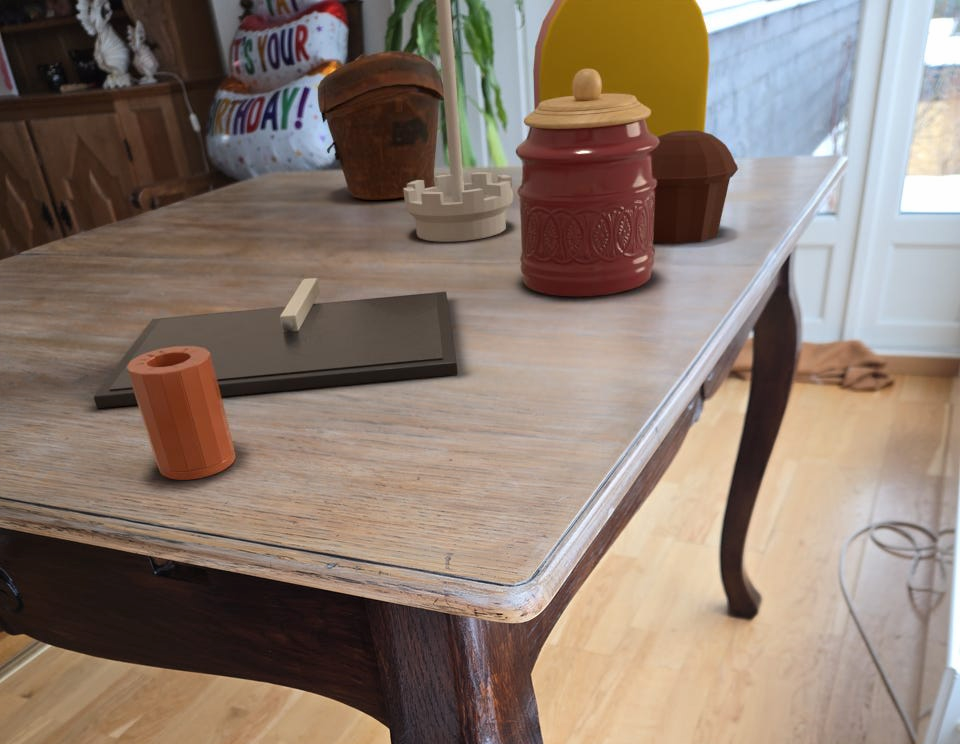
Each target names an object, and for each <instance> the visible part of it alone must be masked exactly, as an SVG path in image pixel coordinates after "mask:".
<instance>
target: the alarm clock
mask: <svg viewBox="0 0 960 744" xmlns="http://www.w3.org/2000/svg"><path fill="white" fill-rule="evenodd" d="M709 42H710V39H709V32H708V29H707V26H706V22H705V18H704V15H703V12H702V9H701V7H700V5H699V4H698V2H697V0H554V1H553V3H552V4H551V6H550V8H549V10H548V12H547V14H546V15H545V17H544V19H543V20H542V23H541V27H540V30H539V33H538V36H537V39H536V43H535V46H534V59H533V69H532V74H533V104H534V105H533V106H534V107H533V109H534V110H535V109H536V108H537V107H538V105H539V103H540V102H543V101H546V100H549V99H554V98H560V97H567V96H573V92H572V83H573V79H574V77H575V75H576V74H577V73H578V72H579V71H580V70H583V69H594V70H596V71H597V72H598V74H599V75H600V78H601V82H602V90H601V93H600V94H629V95H633V96H635V97H636V99H637V101H639V102H640V103H641V104H643V105H644V106H646V107H648V108H649V109H650V110H651V115H650V116H649V117H648V118H645V122H646V125H647V128H648V130H649V131H650V132H651V133H653V134H654V135H655V136H656V137H659V136H661V135H664V134H667V133H670V132H675V131H688V130H693V131H702V132H705V131H706V117H707V102H708V87H709V73H710V71H709V70H710V44H709ZM534 110H533V111H534ZM705 133H706V132H705Z"/></svg>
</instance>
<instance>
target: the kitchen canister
mask: <svg viewBox="0 0 960 744" xmlns="http://www.w3.org/2000/svg"><path fill="white" fill-rule="evenodd" d="M601 90H602V82H601V78H600V75H599V74H598V72H597V71H596V70H594V69H583V70H580V71H579V72H578V73H577V74H576V75H575V77H574V79H573V83H572V92H573V96H567V97H560V98H554V99H549V100H546V101H543V102H540V103H539V105H538V107H537V108H536V109H535V110H533V111H532V112H530V113H529V114H528V115H526V117H524V119H523V124H524V125H525V126H527V127H529V129H528V131H527V132H528V133H527V136H526V138H525V139H524V140H523V141H522V142H521V143H519V145H517V147H516V148H515V154H516V156H517V157H518V158H519V160H520V161H521V165H522V166H521V167H522V169H521V170H522V171H521V172H522V173H521V184H520V185H519V186H518V188H517V195H518V197H519V216H520V240H521V254H520V257H519V261H520V271H521V274H522V277H523V283H524V285H525V286H526V287H527V288H528V289H530V290H532V291H534V292H537V293H540V294H545V295H551V296H559V297H594V296H603V295H612V294H616V293H622V292H625V291H630V290H632V289H635V288H638V287H640V286H642V285H644V284H646V283H647V282H648V281H649V280H650V279H651V277H652V272H653V271H652V270H653V267H654V264H655V254H656V250H655V247H654V242H653V236H654V212H655V190H656V186H657V183H658V182H657V179H656V178H655V177H654V176H653V152H654V151H655V149H656V148H657V147H658V145H659V139H658V137H656V136H655V135H654V134H653V133H651V132H650V131H649V130H648V128H647V125H646V122H645V118H648V117H649V116H650V115H651V110H650V109H649V108H648V107H646V106H644V105H643V104H641V103H640V102H639V101H637V99H636V97H635V96H633V95H629V94H600V93H601Z"/></svg>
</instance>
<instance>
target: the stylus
mask: <svg viewBox="0 0 960 744" xmlns="http://www.w3.org/2000/svg"><path fill="white" fill-rule="evenodd" d="M318 279H319V278H318V277H313V278H311V277H310V278H303V279H302V281H301V282H300V284H299V285H298V287H297V289H296V291H295V292H294V294H293V295H292V296H291V298H290V300H289V302H288V303H287V305H286V306H285V307H286V308H285V309H284V311H283V312H282V314H281V316H280V319H281V324H282V329H283V332H292V331H299V329H300V327H301V325H302V324H303V322H304V320H305V318H306V316H307V315H308V313H309V311H310V309H311V307H312V305H313V304H315V302H316V300H317V298H318V297H319V294H320V293H321V291H320V285H319V281H318Z"/></svg>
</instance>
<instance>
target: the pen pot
mask: <svg viewBox="0 0 960 744" xmlns="http://www.w3.org/2000/svg"><path fill="white" fill-rule="evenodd" d="M127 371H128V374H129V378H130V381H131V384H132V387H133V390H134V394H135V397H136V400H137V403H138V405H137V407H138V409H139V414H140V416H141V419H142V422H143V426H144V430H145V431H146V435H147V438H148V441H149V444H150V447H151V451H152V455H153V457H154V461H155V463H156V465H157V468H158V471H159V473H160V474H161V476H163V477H165V478H167V479H171V480H178V481H188V480H197V479H203V478H207V477H210V476H213V475H215V474H218V473H220V472H223V471H225V470H226V469H228V468H229V467H230V466H232V464H233V463H234V462H235V460H236V452H235V449H234V448H235V446H234V441H233V438H232V433H231V429H230V426H229V425H230V424H229V421H228V417H227V414H226V410H225V405H224V402H223V401H224V400H223V397H221V393H220V389H219V385H218V381H217V377H216V374H215V370H214V366H213V362H212V358H211V354H210V352H209V351H208V350H206V349H205V348H201V347H196V346H175V347H169V348H162V349H158V350H154V351H151V352H148V353H144V354H142V355H140V356H138V357H136V358H134V359H132V360H131V361H130V362H129V364H128V365H127Z"/></svg>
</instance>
